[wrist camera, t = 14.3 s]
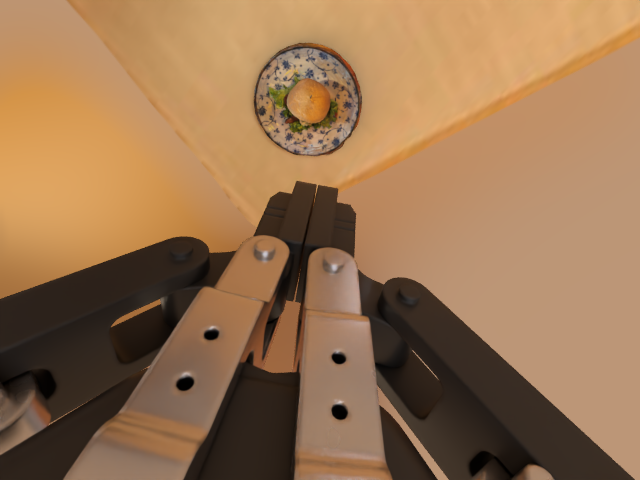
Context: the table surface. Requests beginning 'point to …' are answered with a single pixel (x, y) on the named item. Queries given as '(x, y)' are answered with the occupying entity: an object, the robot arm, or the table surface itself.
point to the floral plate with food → (308, 99)
